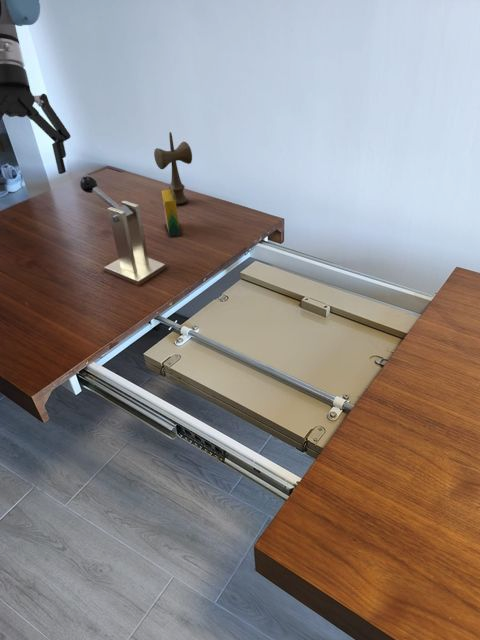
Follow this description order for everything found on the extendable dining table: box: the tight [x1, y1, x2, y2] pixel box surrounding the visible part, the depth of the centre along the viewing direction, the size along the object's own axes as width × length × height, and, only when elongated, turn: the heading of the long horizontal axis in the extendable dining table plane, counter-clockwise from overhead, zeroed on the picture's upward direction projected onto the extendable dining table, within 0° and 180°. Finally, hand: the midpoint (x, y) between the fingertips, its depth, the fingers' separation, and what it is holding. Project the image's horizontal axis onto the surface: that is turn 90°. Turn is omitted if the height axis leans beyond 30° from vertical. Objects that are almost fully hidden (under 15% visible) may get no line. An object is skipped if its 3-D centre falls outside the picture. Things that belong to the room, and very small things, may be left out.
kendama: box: [153, 131, 193, 206], centre depth 135 cm, size 6×10×20 cm, turn 126°
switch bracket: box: [103, 200, 167, 286], centre depth 107 cm, size 11×9×16 cm
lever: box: [79, 175, 134, 223], centre depth 104 cm, size 14×4×4 cm, turn 56°
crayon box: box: [161, 182, 181, 238], centre depth 124 cm, size 7×3×12 cm, turn 15°
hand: (31, 174), depth 105 cm, fingers open, 13 cm apart
